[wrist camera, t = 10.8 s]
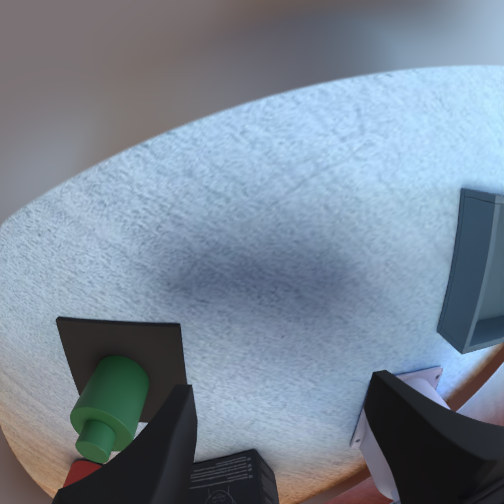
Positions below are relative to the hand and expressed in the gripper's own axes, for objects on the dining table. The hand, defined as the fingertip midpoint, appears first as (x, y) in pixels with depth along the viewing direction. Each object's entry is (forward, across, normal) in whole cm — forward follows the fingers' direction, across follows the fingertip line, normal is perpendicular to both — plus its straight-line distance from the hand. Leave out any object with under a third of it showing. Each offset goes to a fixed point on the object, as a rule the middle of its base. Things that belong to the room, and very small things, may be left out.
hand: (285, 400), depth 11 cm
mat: (+10, +11, +7) cm, 16 cm away
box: (+10, +3, +20) cm, 22 cm away
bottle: (+9, +11, +6) cm, 16 cm away
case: (+10, -21, -2) cm, 24 cm away
